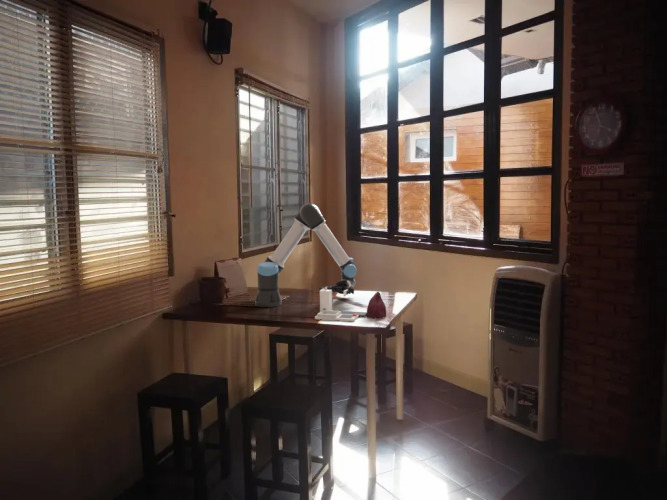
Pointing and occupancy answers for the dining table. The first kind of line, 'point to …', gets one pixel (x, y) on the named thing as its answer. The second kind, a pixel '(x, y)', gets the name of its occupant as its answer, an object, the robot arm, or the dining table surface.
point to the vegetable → (376, 307)
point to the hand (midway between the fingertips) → (332, 293)
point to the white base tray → (336, 316)
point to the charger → (325, 299)
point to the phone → (361, 314)
